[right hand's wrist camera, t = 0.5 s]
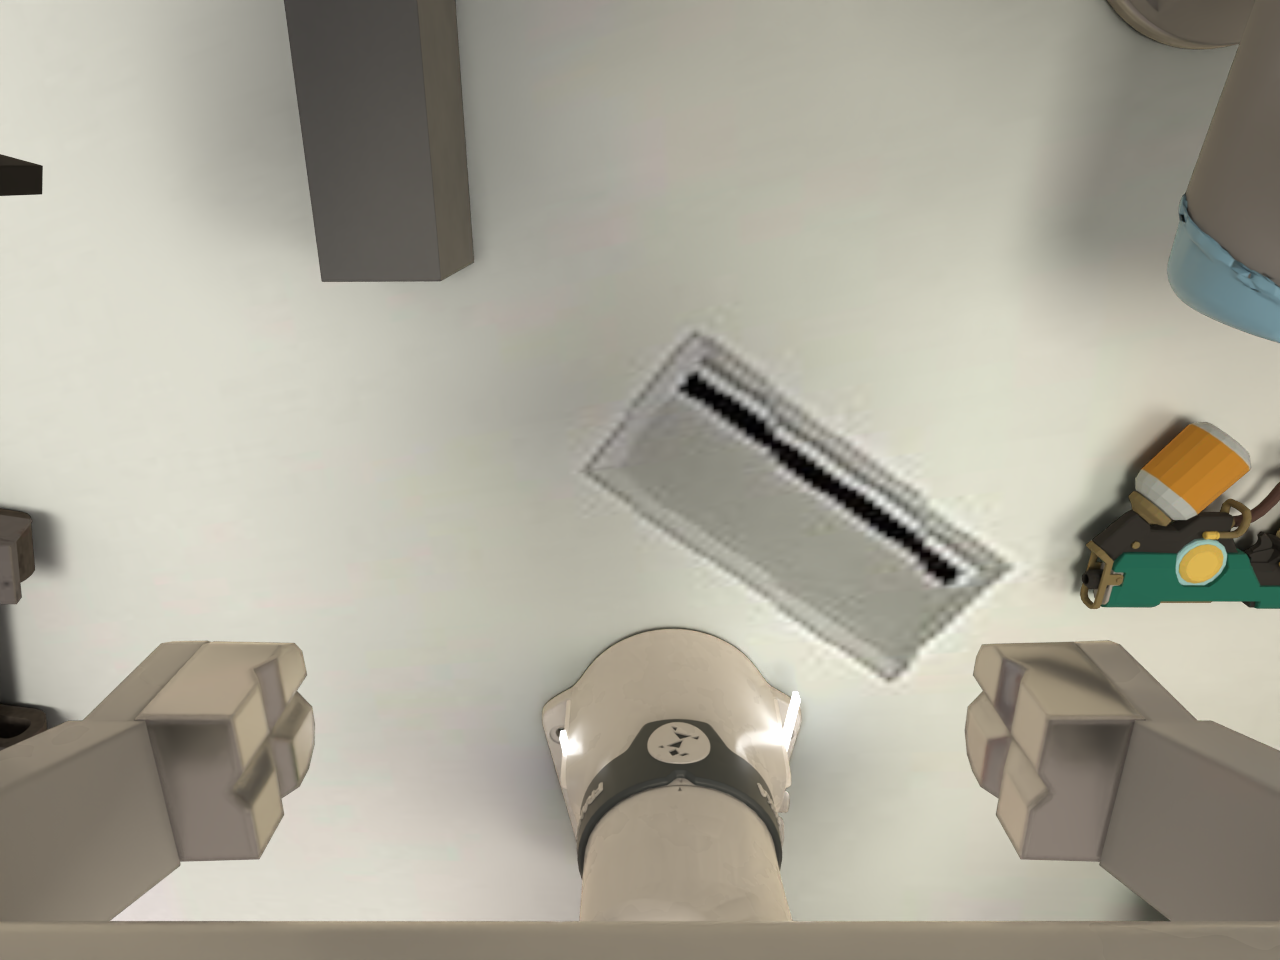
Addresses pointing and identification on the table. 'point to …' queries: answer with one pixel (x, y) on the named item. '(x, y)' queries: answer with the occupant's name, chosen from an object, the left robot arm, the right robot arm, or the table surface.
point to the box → (383, 137)
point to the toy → (3, 564)
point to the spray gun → (1186, 533)
